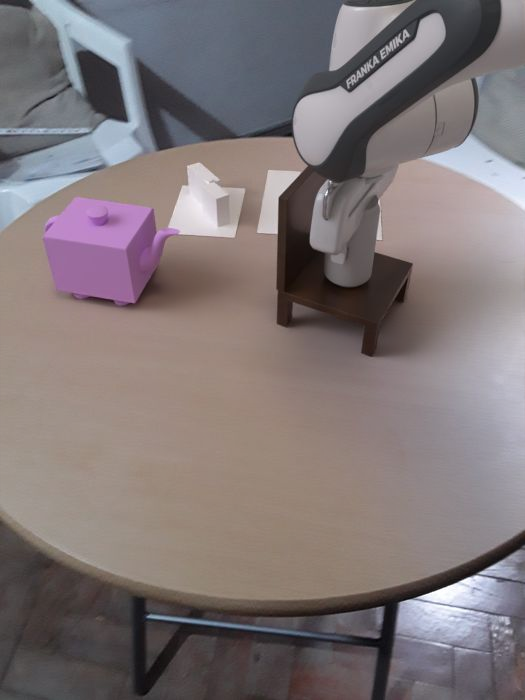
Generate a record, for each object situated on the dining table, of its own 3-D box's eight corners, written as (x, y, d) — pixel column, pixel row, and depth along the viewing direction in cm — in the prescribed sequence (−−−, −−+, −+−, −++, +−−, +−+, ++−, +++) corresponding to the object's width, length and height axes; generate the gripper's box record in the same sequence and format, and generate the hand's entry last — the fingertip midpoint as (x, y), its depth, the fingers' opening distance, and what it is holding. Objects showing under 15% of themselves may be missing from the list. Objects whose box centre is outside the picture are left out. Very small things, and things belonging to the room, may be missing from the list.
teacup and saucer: (335, 185, 119) (337, 164, 117) (334, 210, 114) (336, 189, 111) (285, 183, 120) (286, 162, 117) (282, 207, 114) (282, 186, 112)
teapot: (42, 295, 98) (21, 222, 89) (73, 254, 105) (56, 182, 96) (174, 318, 94) (165, 244, 86) (196, 274, 101) (190, 201, 93)
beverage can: (351, 297, 88) (361, 218, 80) (313, 276, 91) (318, 198, 83) (380, 274, 92) (392, 197, 83) (342, 255, 95) (350, 178, 86)
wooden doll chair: (406, 296, 98) (431, 172, 84) (372, 357, 89) (393, 229, 75) (316, 268, 103) (326, 146, 89) (275, 323, 94) (278, 197, 80)
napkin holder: (181, 185, 120) (178, 155, 116) (245, 188, 119) (245, 158, 115) (165, 234, 109) (162, 203, 105) (236, 237, 108) (235, 206, 104)
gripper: (353, 194, 70) (342, 297, 80) (416, 115, 84) (400, 212, 93) (298, 179, 73) (294, 281, 82) (368, 105, 86) (357, 200, 95)
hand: (351, 244), depth 88 cm, fingers closed on beverage can, 6 cm apart
